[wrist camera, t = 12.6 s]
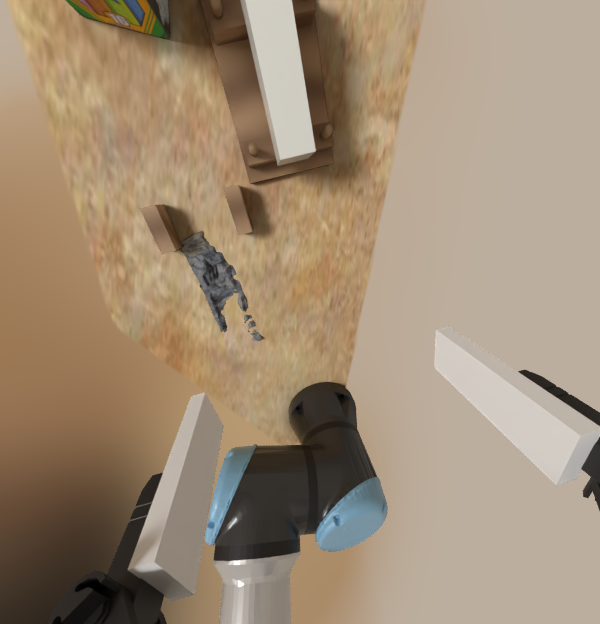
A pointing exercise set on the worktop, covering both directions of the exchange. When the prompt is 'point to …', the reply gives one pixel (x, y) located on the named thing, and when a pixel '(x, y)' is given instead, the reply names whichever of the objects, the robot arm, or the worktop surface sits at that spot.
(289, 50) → the clay block
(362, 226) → the worktop surface
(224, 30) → the rack
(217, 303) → the driftwood
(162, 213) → the props
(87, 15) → the chalk box
